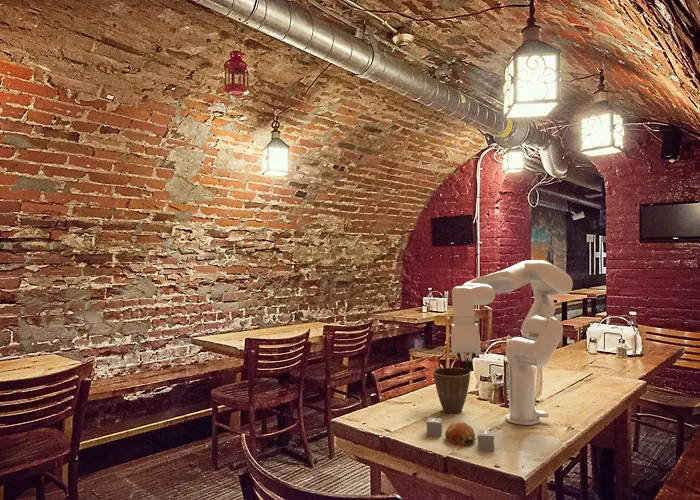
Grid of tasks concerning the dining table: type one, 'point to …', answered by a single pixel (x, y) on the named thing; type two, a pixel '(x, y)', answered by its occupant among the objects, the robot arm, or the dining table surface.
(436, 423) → the numbered block 7
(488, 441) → the numbered block 1
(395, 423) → the dining table surface
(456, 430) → the bread roll
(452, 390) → the plant pot
